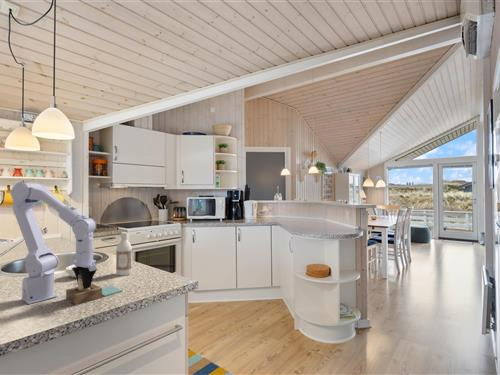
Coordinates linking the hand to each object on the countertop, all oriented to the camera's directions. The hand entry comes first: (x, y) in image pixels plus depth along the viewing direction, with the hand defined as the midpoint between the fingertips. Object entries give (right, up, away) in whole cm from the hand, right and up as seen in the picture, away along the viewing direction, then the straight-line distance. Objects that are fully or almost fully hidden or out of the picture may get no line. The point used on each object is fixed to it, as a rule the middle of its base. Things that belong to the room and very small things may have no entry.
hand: (84, 286), depth 108 cm
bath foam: (+1, -5, +31) cm, 32 cm away
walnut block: (0, -4, 0) cm, 4 cm away
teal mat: (+6, -5, +7) cm, 10 cm away
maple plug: (0, -4, 0) cm, 4 cm away
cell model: (-17, -5, +27) cm, 32 cm away
